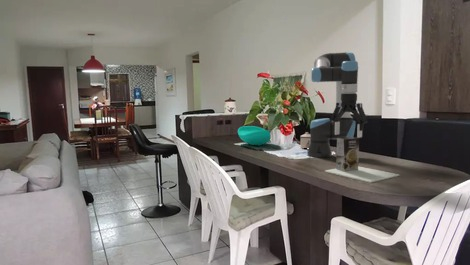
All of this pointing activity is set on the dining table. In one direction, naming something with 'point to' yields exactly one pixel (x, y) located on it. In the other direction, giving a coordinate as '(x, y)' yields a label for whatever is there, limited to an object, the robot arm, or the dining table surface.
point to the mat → (364, 174)
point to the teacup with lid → (305, 140)
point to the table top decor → (254, 135)
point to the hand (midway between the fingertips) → (347, 135)
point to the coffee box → (347, 154)
